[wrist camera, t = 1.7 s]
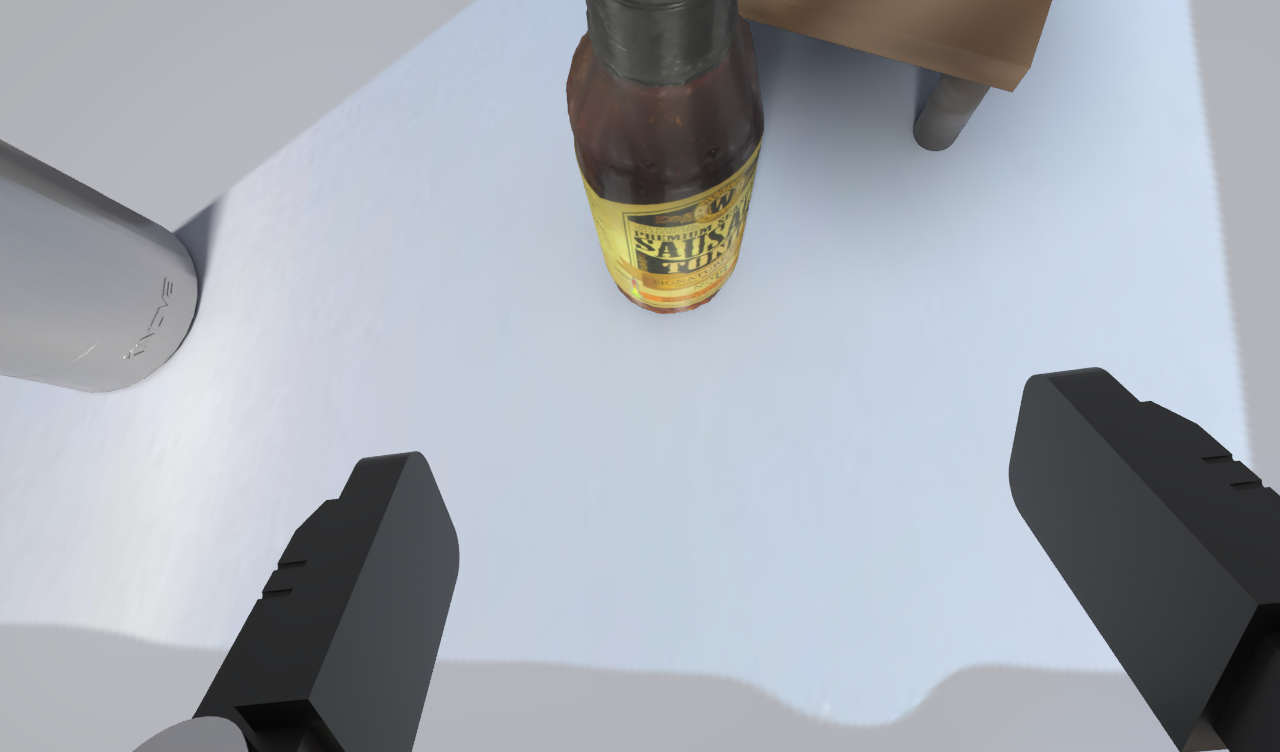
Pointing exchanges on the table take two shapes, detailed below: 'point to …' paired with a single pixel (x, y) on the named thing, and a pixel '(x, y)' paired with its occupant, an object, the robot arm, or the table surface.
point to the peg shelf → (926, 45)
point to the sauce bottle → (667, 142)
